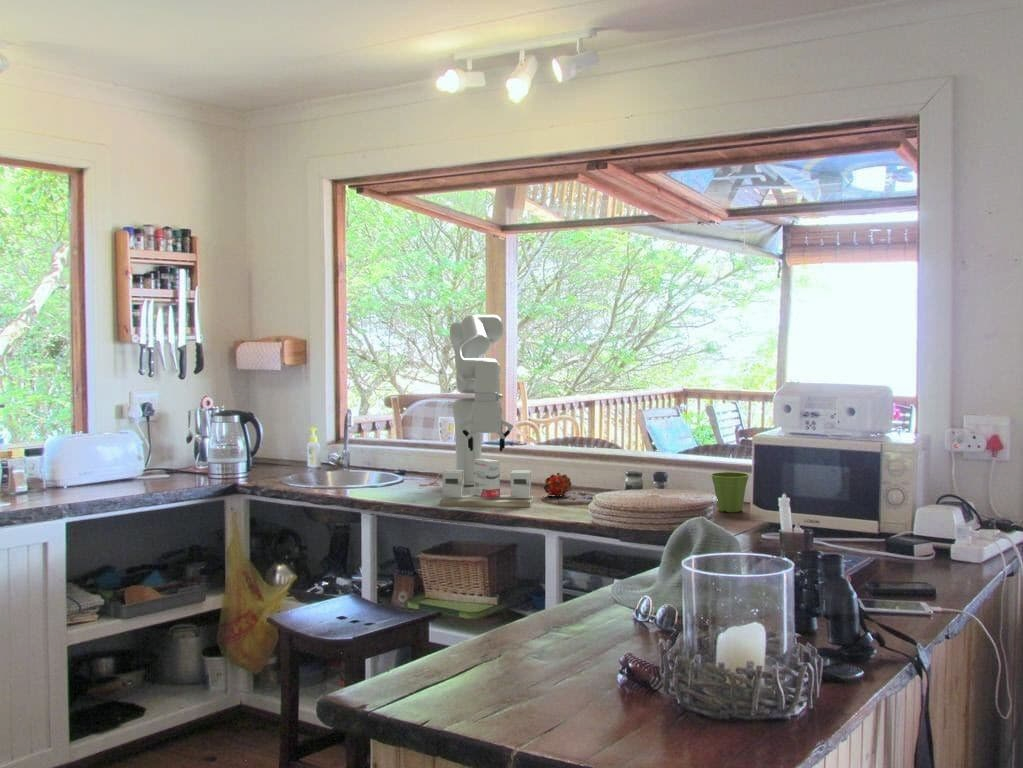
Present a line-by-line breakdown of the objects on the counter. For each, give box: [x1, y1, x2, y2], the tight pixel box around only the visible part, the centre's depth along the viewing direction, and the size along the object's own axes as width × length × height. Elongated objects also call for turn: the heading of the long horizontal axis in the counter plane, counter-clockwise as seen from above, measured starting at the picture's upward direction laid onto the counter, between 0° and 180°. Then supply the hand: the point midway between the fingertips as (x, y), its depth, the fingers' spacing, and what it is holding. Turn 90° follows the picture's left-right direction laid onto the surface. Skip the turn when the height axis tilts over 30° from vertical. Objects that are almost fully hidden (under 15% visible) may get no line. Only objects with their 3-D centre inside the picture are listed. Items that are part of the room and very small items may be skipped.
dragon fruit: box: [543, 472, 572, 497], centre depth 324 cm, size 8×8×12 cm
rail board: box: [439, 469, 534, 508], centre depth 311 cm, size 12×29×10 cm, turn 85°
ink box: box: [473, 458, 501, 498], centre depth 312 cm, size 8×5×12 cm, turn 36°
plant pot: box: [710, 471, 751, 513], centre depth 295 cm, size 12×12×11 cm
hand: (486, 450), depth 311 cm, fingers open, 9 cm apart
